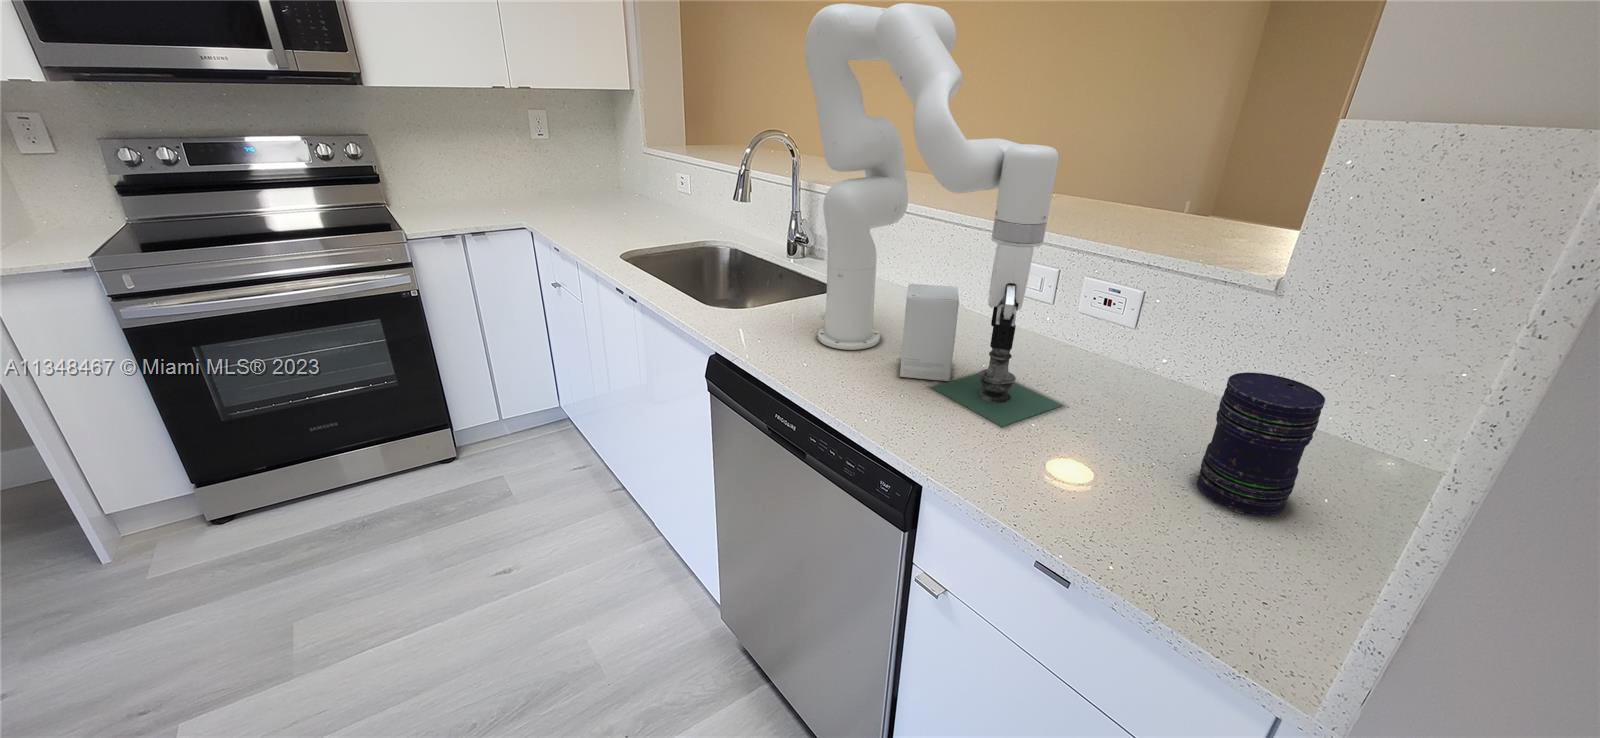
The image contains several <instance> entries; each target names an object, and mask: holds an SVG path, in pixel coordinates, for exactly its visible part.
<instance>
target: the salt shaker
mask: <svg viewBox="0 0 1600 738" xmlns="http://www.w3.org/2000/svg"><path fill="white" fill-rule="evenodd" d="M988 356H989V363H988V367H987V368H985V369H983V370H981V371H979V372H978V374H979V377H980V381H981V385H982V386H983V387H984V389H981V390H980V391H979V392H978V395H979V396H980V397H981V398H982V399H984V400H987V401H990V402H997V403H1002V402H1007V401H1009V400H1010V398H1011V396H1010V394H1009V393H1008V392H1006V391H1008V390H1009V389H1010V388H1011V386H1012V384H1013V382H1016V380H1017V378H1016V376H1015V375H1014V374H1013V373H1012V372H1009V365H1010V364H1009V363H1010V359H1012V354H1011V350H1004V349H996V348H991V351H989V352H988Z"/></svg>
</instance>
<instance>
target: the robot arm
mask: <svg viewBox="0 0 1600 738" xmlns="http://www.w3.org/2000/svg"><path fill="white" fill-rule="evenodd" d="M956 40H957V30H956V25H955V22H954V20H953V18H952V16H951V15H950V13H948V12H947V10H945V9H943V8H941V7H938V6H934V5H927V4H920V3H911V2H901V3H897V4H896V3H895V4H894V5H891V6H889V7H880V6H870V5H864V4H856V3H835V4H830V5H827V6H824V7H823V8H821V9H820V10H819V11H817V13H815V15H814V17H812V20H811V21H810V23H809V26H808V28H807V31H806V35H805V41H804V42H805V43H804V60H805V65H806V68H807V70H806V71H807V73H808V76H809V81H810V83H811V86H812V87H811V88H812V90H813V94H814V99H815V105H816V106H815V107H816V113H817V115H816V116H817V120H818V121H817V122H818V127H819V133H820V140H821V141H820V142H821V147H822V153H823V156H824V160H825V163H826V165H827V166H828V167H829V168H830V169H831V170H833V171H835V172H839V173H841V172H842V173H843V172H844V173H845V172H846V173H847V172H848V173H849V172H859V171H864V174H865V175H864V177H855V178H847V179H843V180H841V181H838V182H836V183H835V184H833V185H832V186H831V187H830V188H829V189H828V190H827V192H826V193H825V196H824V199H823V203H822V204H823V205H822V206H823V207H822V208H823V209H822V210H823V216H824V217H823V218H824V222H825V229H826V239H827V243H826V244H827V255H826V256H827V259H826V264H827V266H826V267H827V268H826V302H825V304H826V305H825V306H826V307H825V308H826V309H825V312H823V311H822V312H820V314H819V318H820V319H821V320H823V321H824V323H823V327H822V328H820V329H819V330H818V332H817V339H818V341H819V342H820V343H821V344H822V345H824V346H827V347H829V348H833V349H836V350H837V349H838V350H845V351H846V350H847V351H856V350H857V351H858V350H864V349H870V348H873V347H874V346H876V345H878V344H879V343H880V339H881V335H880V332H879V331H877V329H875V328H874V313H875V312H874V311H875V310H874V309H875V296H876V279H877V278H876V277H877V257H878V255H877V247H876V244H875V242H874V239H873V236H872V234H871V230H872V229H876V228H881V227H886V226H890V225H893V224H897V222H899V221H901V219H902V218H904V216H905V214H906V212H907V210H908V205H909V190H908V182H907V172H906V165H905V158H904V150H903V143H902V139H901V135H900V132H899V131H898V129H897V127H896V126H895V124H894V123H893V122H892V121H891V120H890V119H888V118H885V117H883V116H867V113H866V111H865V104H864V99H863V91H862V88H861V84H860V83H859V79H858V78H857V76H856V75H855V73H854V71H853V70H852V68H851V67H850V66H849V65H850V64H849V62H850V61H851V60H852V61H865V62H867V61H869V62H886V63H887V65H888V66H889V68H890V70H891V71H892V73H893V74H894V76H895V78H896V79H897V81H898V82H899V84H900V86H901V87H902V89H903V91H904V92H905V94H906V96H907V97H908V98H909V101H910V102H911V104H912V106H913V108H914V109H913V117H912V127H913V135H914V141H915V142H914V143H915V146H916V148H917V151H918V153H919V155H920V157H921V158H922V161H924V164H925V165H926V167H927V168H928V170H929V171H930V173H931V175H932V176H933V177H934V179H935V180H936V182H938V184H939V185H940V186H941V187H943V189H945V190H947V191H948V192H951V193H953V194H969V193H974V192H982V191H989V190H996V189H997V190H998V191H997V199H996V206H995V212H994V217H993V218H994V219H993V225H992V232H991V241H992V242H994V243H996V248H995V252H994V253H995V254H994V259H993V264H992V270H991V276H990V278H991V279H990V284H989V290H988V301H987V305H988V307H989V308H990V309H993V310H992V315H991V321H990V322H991V323H990V325H991V327H992V331H991V332H992V333H991V338H990V344H989V346H990V348H991V349H992V348H996V349H1004V350H1010V351H1011V350H1012V349H1013V345H1014V339H1015V334H1016V326H1017V325H1016V319H1017V312H1018V311H1020V310H1021V309H1022V307H1023V303H1024V299H1025V295H1026V291H1027V287H1028V281H1029V276H1030V271H1031V266H1032V261H1033V254H1034V250H1035V249H1034V248H1036V247H1041V246H1043V245H1044V240H1045V235H1046V230H1047V224H1048V218H1049V213H1050V207H1051V202H1052V196H1053V191H1054V186H1055V180H1056V177H1057V171H1058V164H1059V153H1058V150H1057V149H1056V148H1054V147H1052V146H1050V145H1045V144H1044V145H1042V144H1034V143H1033V144H1031V143H1018V142H1015V141H1011V140H1008V139H1004V138H999V137H998V138H997V137H994V138H993V137H992V138H976V139H975V138H974V139H967V138H966V137H965V135H964V133H963V132H962V131H961V129H960V128H959V127H960V126H958V124H957V123H956V121H955V119H954V117H953V115H952V112H951V110H950V106H949V102H950V101H951V100H952V99H953V98H954V97H955V95H956V94H957V93H958V91H960V88H961V86H962V83H963V73H962V70H961V69H960V68H959V66H958V65H957V63H956V61H955V60H954V59H953V57H952V55H951V53H952V52H953V50H954V47H955V44H956Z"/></svg>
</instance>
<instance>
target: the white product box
mask: <svg viewBox="0 0 1600 738" xmlns="http://www.w3.org/2000/svg"><path fill="white" fill-rule="evenodd" d="M906 293H907V294H906V302H905V309H904V311H905V312H904V320H903V321H904V322H903V333H902V345H901V355H900V357H901V358H900V360H901V361H900V369H899V377H901V378H912V379H921V380H930V381H931V380H933V381H941V382H943V381H944V382H951V373H952V367H953V357H954V349H955V342H956V332H957V322H958V315H959V314H958V313H959V305H960V297H959V289H958V286H952V285H935V284H924V283H923V284H921V283H908V286H907V292H906Z"/></svg>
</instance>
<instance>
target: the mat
mask: <svg viewBox="0 0 1600 738" xmlns="http://www.w3.org/2000/svg"><path fill="white" fill-rule="evenodd" d="M930 388H931V389H932V390H934V391H936V392H937V393H939V394H941V395H942V396H943V395H944V396H945V397H947V398H949V399H950V400H952V401H954V402H956V403H958V404H959V405H961V406H963V407H964V408H967V409H968V410H970V411H972V412H974V413H976V414H978V415H979V416H981V417H983V418H984V419H986V420H989V421H990V422H992V423H994V424H995V425H998V426H999V427H1001V428H1003V427H1007V426H1010V425H1012V424H1015V423H1017V422H1021V421H1023V420H1026V419H1029V418H1032V417H1034V416H1035V417H1036V416H1037V415H1041V414H1043V413H1046V412H1050V411H1052V410H1054V409H1057V408H1060V407H1063V404H1061V403H1059V402H1057V401H1054V400H1053V399H1051V398H1049V397H1046V396H1044V395H1042V394H1040V393H1038V392H1036V391H1033V390H1032V389H1030V388H1027V387H1025V386H1023V385H1021V384H1019V383H1016V381H1014V382H1013V384H1012V386H1011V388H1010V389H1009V390H1008V391H1006V392H1008V393H1009V394H1010V396H1011V398H1010V400H1009V401H1007V402H1002V403H997V402H990V401H987V400H984V399H982V398H981V397H980V396H979V395H978V392H979V391H980V390H981V389H984V387H983V386H982V385H981V381H980V377H979V373H975V374H972V375H968V376H965V377H962V378H958V379H955V380H950V381H946V382H944V383H941V384H937V385H933V386H931V387H930Z"/></svg>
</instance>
